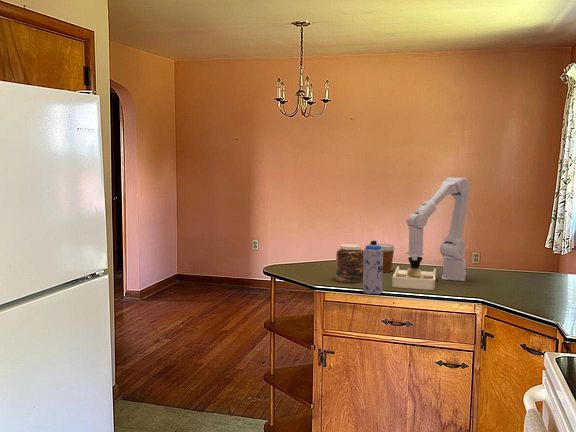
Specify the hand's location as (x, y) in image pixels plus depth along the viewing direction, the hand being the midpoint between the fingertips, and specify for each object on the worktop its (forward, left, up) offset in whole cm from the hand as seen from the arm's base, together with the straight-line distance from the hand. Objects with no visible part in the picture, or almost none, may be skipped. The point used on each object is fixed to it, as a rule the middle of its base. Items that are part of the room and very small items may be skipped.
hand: (414, 274), depth 223 cm
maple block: (0, +4, -1) cm, 4 cm away
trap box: (0, -1, -3) cm, 4 cm away
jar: (+27, +3, -4) cm, 27 cm away
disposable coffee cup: (+15, -21, -4) cm, 26 cm away
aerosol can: (+15, +21, -4) cm, 26 cm away
